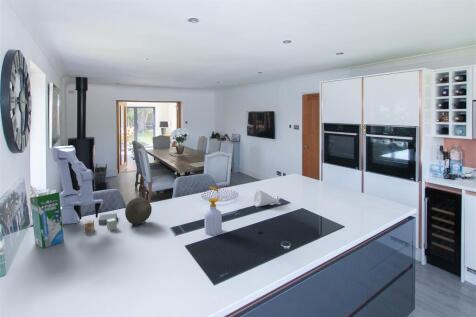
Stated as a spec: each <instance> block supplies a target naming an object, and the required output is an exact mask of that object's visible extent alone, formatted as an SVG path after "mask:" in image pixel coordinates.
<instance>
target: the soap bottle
mask: <svg viewBox="0 0 476 317" xmlns="http://www.w3.org/2000/svg"><path fill="white" fill-rule="evenodd" d="M209 189H210V190H213V191H216V193H219V189H218V188H217V187H214V186H211V185H210V186H209ZM208 202H209V203H210V204H209V209H207V210H206V211H205V212H204V213H203V214H204V218H203V219H204V233H205V234H206V235H209V236H217V235H220V234H221V233H222V231H223V221H222V220H223V219H222V218H223V215H222V212H221V210H219V209H218V208H217V204H216V202H219V196H217V198H208Z"/></svg>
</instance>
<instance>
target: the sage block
mask: <svg viewBox="0 0 476 317" xmlns="http://www.w3.org/2000/svg"><path fill="white" fill-rule="evenodd" d="M106 221H107V224H106V229H107V230H108V231H109V230H110V231H113V229H114V230H117V229H118V225H117V223H118V222H117V220H116V219H115V218H112V219H107V220H106Z"/></svg>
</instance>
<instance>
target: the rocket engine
mask: <svg viewBox="0 0 476 317" xmlns="http://www.w3.org/2000/svg"><path fill="white" fill-rule="evenodd" d="M280 200H281V198H280V197H279V195H276V196H272V195H270V194H268V193H267V192H265V191H263V190H260V189H257V190H256V191H255V192H254V197H253V203H254V204H253V205H254V206H255V207H257V208H258V207H263V206H268V205H269V206H273V205H281V204H282V202H280Z"/></svg>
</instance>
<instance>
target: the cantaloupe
mask: <svg viewBox="0 0 476 317" xmlns="http://www.w3.org/2000/svg"><path fill="white" fill-rule="evenodd" d="M152 209H153V208H152V205H151V202H149V200H148V199H146V198H144V197H135V198H133V199H130V200H129V201H128V202H127V204H126V206H125V209H124V216H125V219H126V221H127V222H128V223H129V224H131V225H133V226H139V225H142V224H143V223H146V222H145V221H148V219H149V217H151V214H152Z"/></svg>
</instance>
